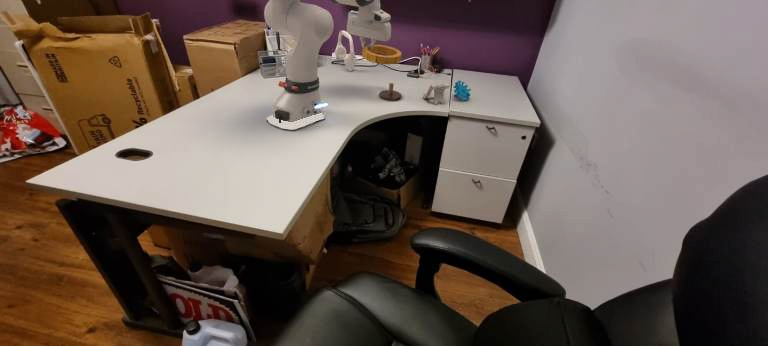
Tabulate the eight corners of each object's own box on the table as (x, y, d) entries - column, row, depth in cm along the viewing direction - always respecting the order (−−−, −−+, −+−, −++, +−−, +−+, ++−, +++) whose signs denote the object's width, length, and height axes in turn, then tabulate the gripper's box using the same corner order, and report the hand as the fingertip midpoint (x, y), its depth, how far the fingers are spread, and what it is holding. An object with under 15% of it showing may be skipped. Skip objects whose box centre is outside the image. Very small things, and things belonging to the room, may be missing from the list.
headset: (357, 71, 173) (358, 36, 163) (345, 72, 170) (345, 36, 160) (344, 60, 187) (344, 27, 177) (332, 61, 185) (332, 27, 174)
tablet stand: (439, 96, 152) (442, 79, 147) (447, 103, 146) (451, 85, 141) (422, 98, 149) (425, 80, 144) (430, 104, 143) (433, 86, 138)
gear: (459, 100, 146) (453, 79, 147) (450, 105, 151) (444, 85, 152) (475, 99, 152) (469, 79, 153) (466, 104, 157) (460, 85, 158)
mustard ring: (388, 67, 131) (389, 59, 129) (354, 56, 137) (355, 49, 135) (406, 59, 143) (407, 52, 142) (374, 49, 149) (375, 42, 147)
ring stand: (395, 102, 142) (396, 89, 139) (375, 97, 146) (376, 84, 142) (404, 96, 149) (406, 83, 146) (385, 90, 153) (386, 78, 150)
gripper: (343, 10, 135) (343, 45, 143) (386, 18, 127) (384, 54, 135) (352, 8, 139) (351, 42, 147) (394, 16, 132) (391, 51, 140)
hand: (367, 48), depth 141 cm, fingers closed on mustard ring, 2 cm apart
